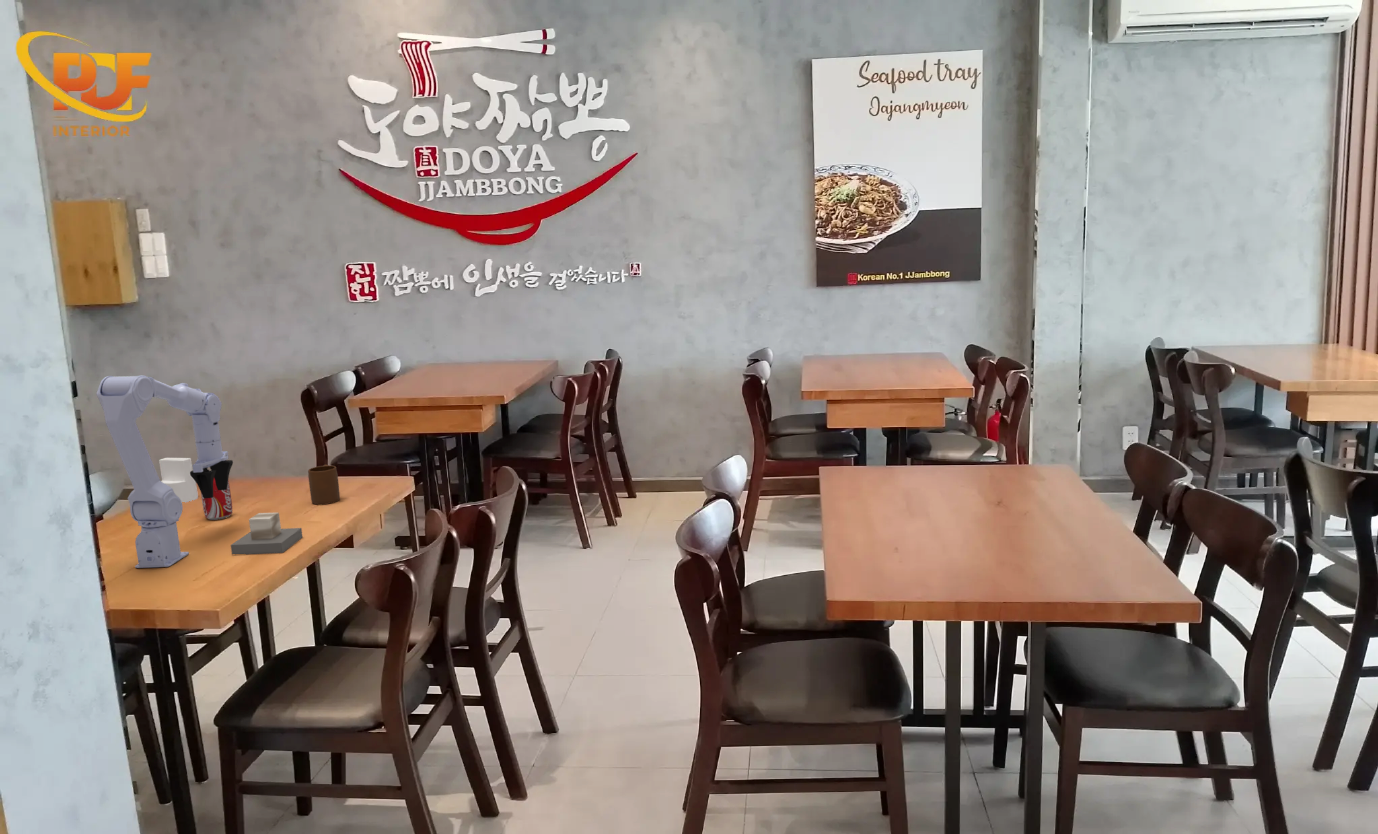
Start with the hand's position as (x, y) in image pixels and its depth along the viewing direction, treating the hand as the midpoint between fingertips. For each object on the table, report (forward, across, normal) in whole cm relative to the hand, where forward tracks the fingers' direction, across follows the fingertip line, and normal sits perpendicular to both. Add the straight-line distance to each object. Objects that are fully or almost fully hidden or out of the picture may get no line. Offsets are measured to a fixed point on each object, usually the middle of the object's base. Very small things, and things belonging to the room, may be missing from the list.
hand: (215, 493), depth 257 cm
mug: (+11, +30, -16) cm, 36 cm away
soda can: (+11, +16, +8) cm, 21 cm away
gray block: (+8, -12, -17) cm, 22 cm away
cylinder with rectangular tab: (+11, +37, +29) cm, 48 cm away
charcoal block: (+11, -12, -17) cm, 24 cm away
